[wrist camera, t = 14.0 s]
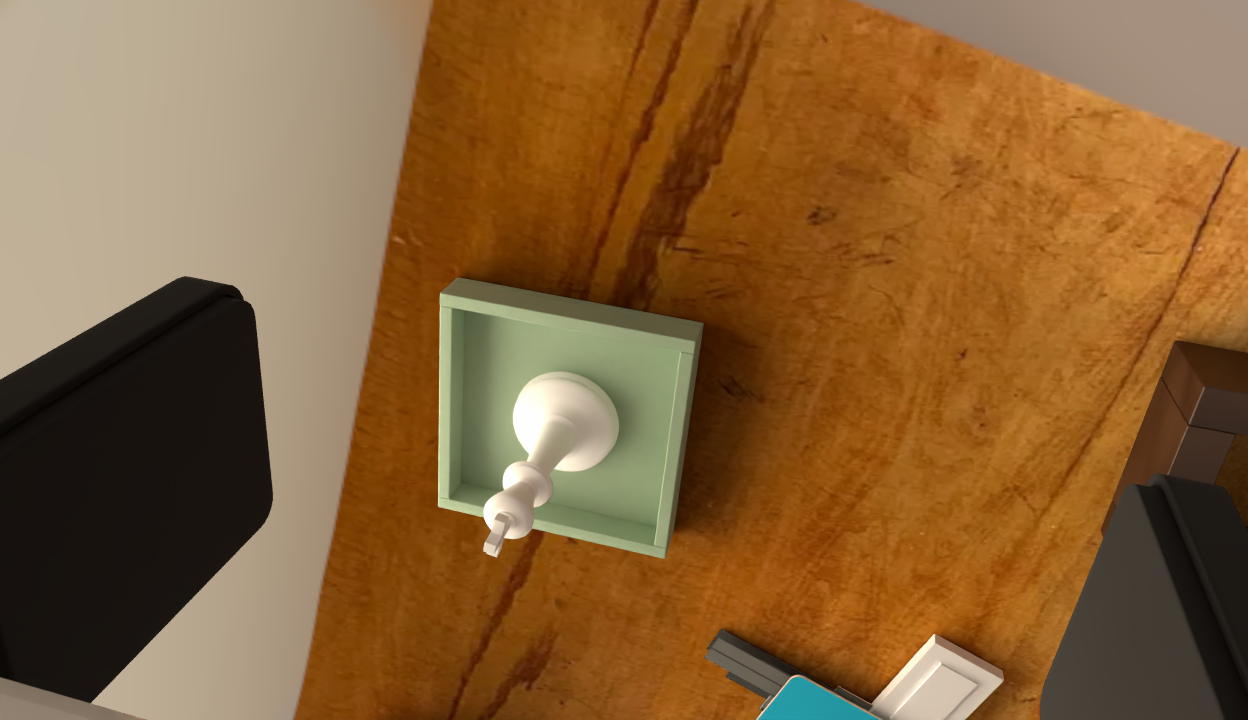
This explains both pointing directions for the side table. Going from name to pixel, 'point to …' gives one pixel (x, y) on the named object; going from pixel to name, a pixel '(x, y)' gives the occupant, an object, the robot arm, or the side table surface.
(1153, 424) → the frame
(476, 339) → the tray
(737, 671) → the phone stand
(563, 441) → the chess piece
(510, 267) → the side table surface
